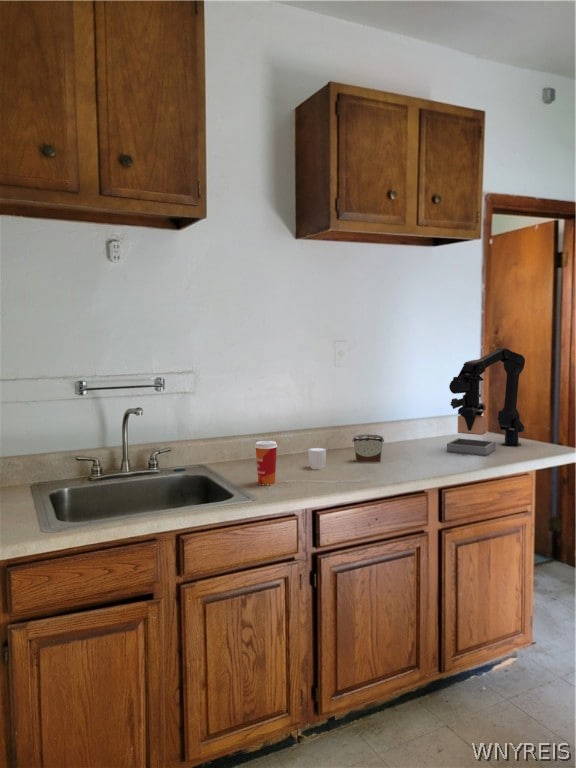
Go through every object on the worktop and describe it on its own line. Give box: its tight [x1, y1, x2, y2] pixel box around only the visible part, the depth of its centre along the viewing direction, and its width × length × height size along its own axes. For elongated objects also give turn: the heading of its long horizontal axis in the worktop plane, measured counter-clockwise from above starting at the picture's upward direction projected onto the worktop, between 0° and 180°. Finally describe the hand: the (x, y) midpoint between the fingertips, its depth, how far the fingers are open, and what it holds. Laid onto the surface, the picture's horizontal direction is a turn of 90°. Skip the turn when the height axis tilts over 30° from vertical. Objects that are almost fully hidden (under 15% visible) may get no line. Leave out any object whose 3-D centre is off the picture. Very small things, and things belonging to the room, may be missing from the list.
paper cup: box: [254, 440, 278, 485], centre depth 193 cm, size 8×8×14 cm
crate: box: [446, 437, 496, 457], centre depth 240 cm, size 14×16×4 cm
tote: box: [457, 414, 487, 436], centre depth 239 cm, size 6×10×7 cm, turn 56°
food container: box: [352, 433, 385, 463], centre depth 225 cm, size 12×6×10 cm, turn 84°
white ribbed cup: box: [307, 447, 327, 470], centre depth 215 cm, size 7×7×7 cm
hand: (471, 429), depth 240 cm, fingers closed on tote, 6 cm apart
